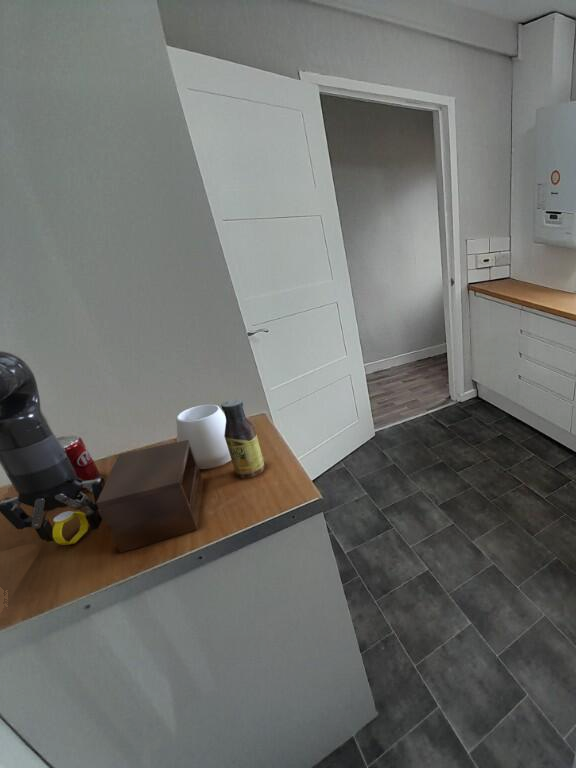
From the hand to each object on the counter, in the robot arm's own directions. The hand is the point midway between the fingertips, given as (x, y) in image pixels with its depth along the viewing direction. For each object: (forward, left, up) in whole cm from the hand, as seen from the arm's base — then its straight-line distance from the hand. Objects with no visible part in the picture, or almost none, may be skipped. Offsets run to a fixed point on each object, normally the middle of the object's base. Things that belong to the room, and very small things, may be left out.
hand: (74, 532), depth 80 cm
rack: (+14, 0, -2) cm, 14 cm away
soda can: (-4, +21, -2) cm, 21 cm away
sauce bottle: (+30, +8, -2) cm, 31 cm away
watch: (0, 0, -2) cm, 2 cm away
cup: (+22, +19, -2) cm, 29 cm away
